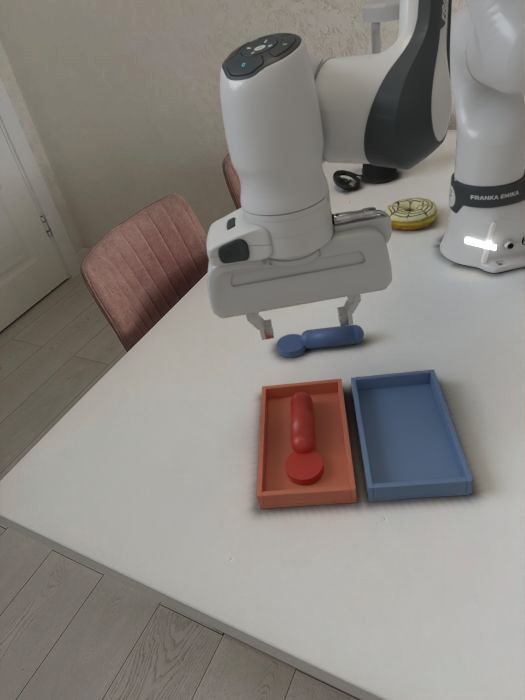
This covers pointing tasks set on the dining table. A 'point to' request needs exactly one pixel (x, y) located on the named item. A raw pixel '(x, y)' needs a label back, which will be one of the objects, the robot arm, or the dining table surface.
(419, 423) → the blue tray
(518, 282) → the dining table surface
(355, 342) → the blue spoon
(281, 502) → the red tray
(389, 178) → the milk frother
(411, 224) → the decorated donut
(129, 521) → the dining table surface
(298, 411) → the red spoon
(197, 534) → the dining table surface
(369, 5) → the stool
